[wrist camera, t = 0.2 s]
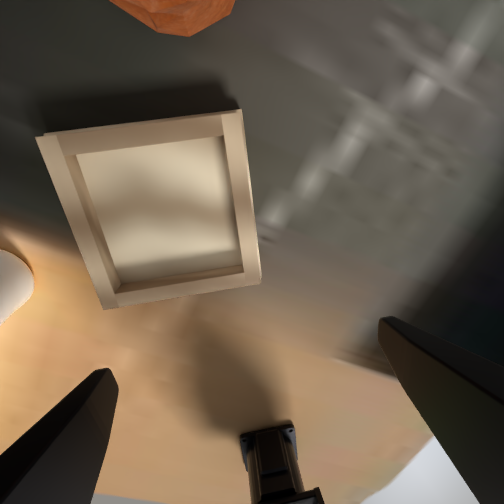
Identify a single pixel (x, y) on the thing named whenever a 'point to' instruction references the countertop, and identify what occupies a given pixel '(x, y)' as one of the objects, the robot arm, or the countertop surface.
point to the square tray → (158, 205)
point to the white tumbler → (13, 284)
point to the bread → (177, 14)
